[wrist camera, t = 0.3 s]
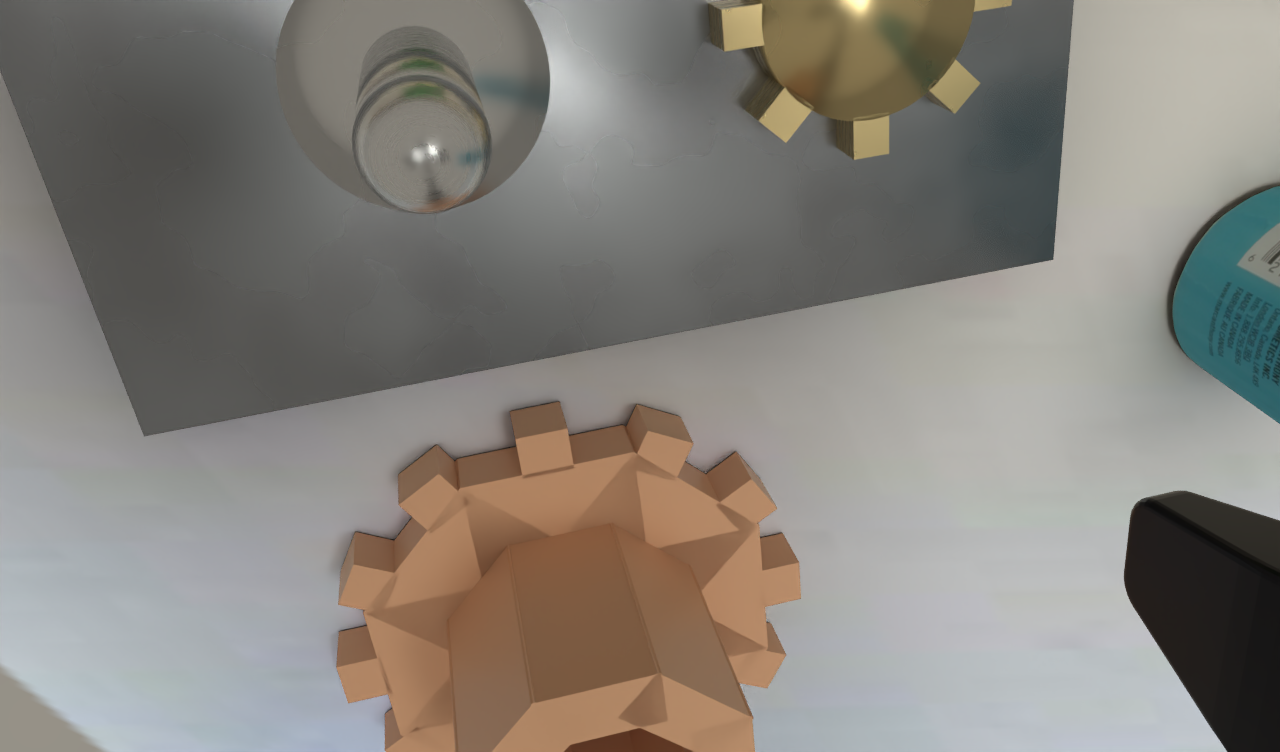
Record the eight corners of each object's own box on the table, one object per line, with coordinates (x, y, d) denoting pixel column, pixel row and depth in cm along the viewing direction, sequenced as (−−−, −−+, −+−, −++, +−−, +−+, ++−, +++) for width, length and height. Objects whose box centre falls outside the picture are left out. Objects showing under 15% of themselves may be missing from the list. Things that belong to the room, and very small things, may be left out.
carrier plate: (1028, 244, 24) (1253, 388, 17) (154, 411, 21) (56, 648, 15) (1072, -413, 18) (1428, -543, 12) (-114, -287, 16) (-446, -370, 9)
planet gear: (793, 709, 29) (882, 902, 24) (395, 806, 27) (396, 1035, 22) (772, 359, 24) (880, 507, 18) (282, 457, 22) (247, 647, 17)
